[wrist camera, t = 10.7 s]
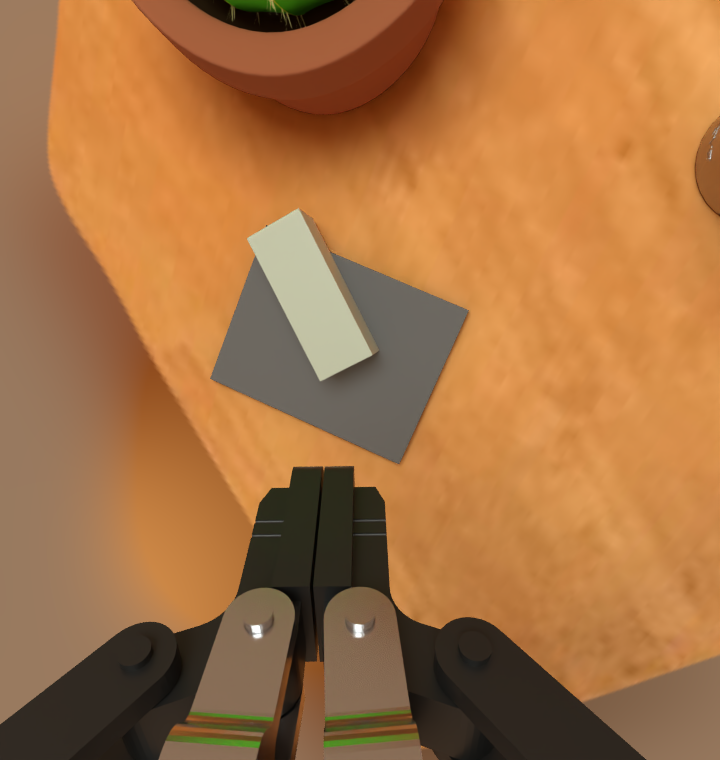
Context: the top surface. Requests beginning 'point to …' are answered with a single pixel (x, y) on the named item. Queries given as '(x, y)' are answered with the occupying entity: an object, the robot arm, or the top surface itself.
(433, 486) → the top surface
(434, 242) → the top surface
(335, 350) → the sage block
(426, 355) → the rubber mat
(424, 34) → the potted cactus
